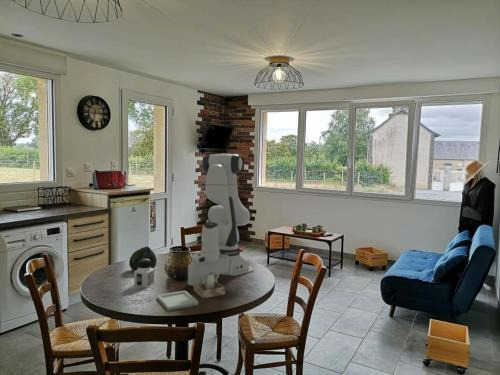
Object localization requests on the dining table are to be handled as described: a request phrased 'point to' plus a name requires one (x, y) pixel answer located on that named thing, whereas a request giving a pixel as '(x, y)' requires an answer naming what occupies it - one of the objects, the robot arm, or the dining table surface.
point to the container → (144, 273)
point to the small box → (193, 278)
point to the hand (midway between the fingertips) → (209, 282)
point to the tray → (177, 300)
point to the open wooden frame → (209, 293)
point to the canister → (209, 281)
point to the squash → (142, 257)
